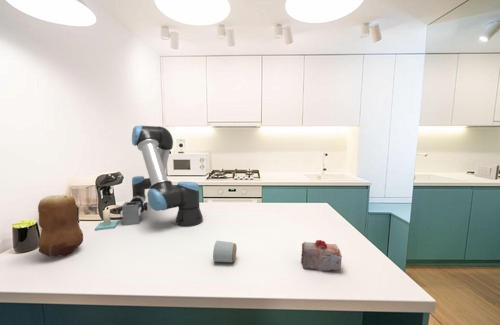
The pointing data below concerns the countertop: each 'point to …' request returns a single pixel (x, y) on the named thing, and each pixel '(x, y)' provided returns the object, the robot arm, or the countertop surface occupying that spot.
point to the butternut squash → (58, 226)
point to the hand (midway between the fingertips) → (130, 213)
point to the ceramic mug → (224, 251)
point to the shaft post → (106, 221)
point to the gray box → (131, 213)
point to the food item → (321, 256)
